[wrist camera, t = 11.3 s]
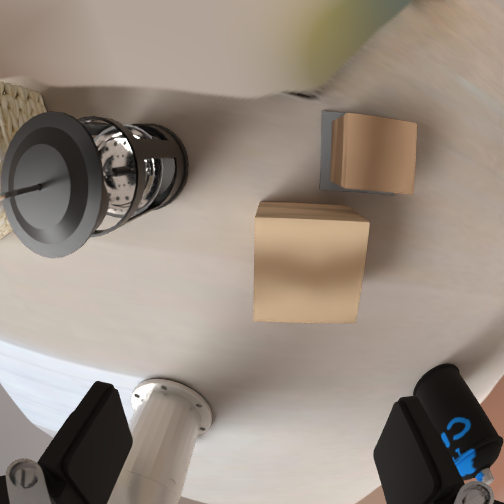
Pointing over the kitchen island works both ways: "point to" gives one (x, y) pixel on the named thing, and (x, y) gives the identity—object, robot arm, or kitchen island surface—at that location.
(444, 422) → the aerosol can
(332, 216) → the plinth
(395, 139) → the u-shaped wooden block
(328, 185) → the coaster
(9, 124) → the storage basket
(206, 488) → the kitchen island surface
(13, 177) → the french press
